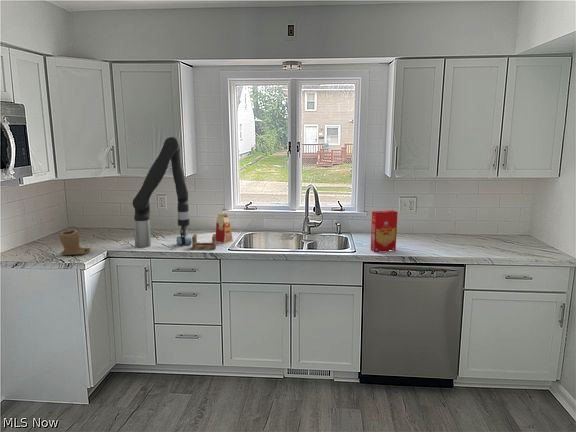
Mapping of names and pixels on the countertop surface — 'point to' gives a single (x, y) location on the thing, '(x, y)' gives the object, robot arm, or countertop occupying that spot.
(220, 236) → the milk carton
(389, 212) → the food packaging
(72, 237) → the tan hollow boot-shaped piece
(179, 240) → the cylinder
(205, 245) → the cradle
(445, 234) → the countertop surface
